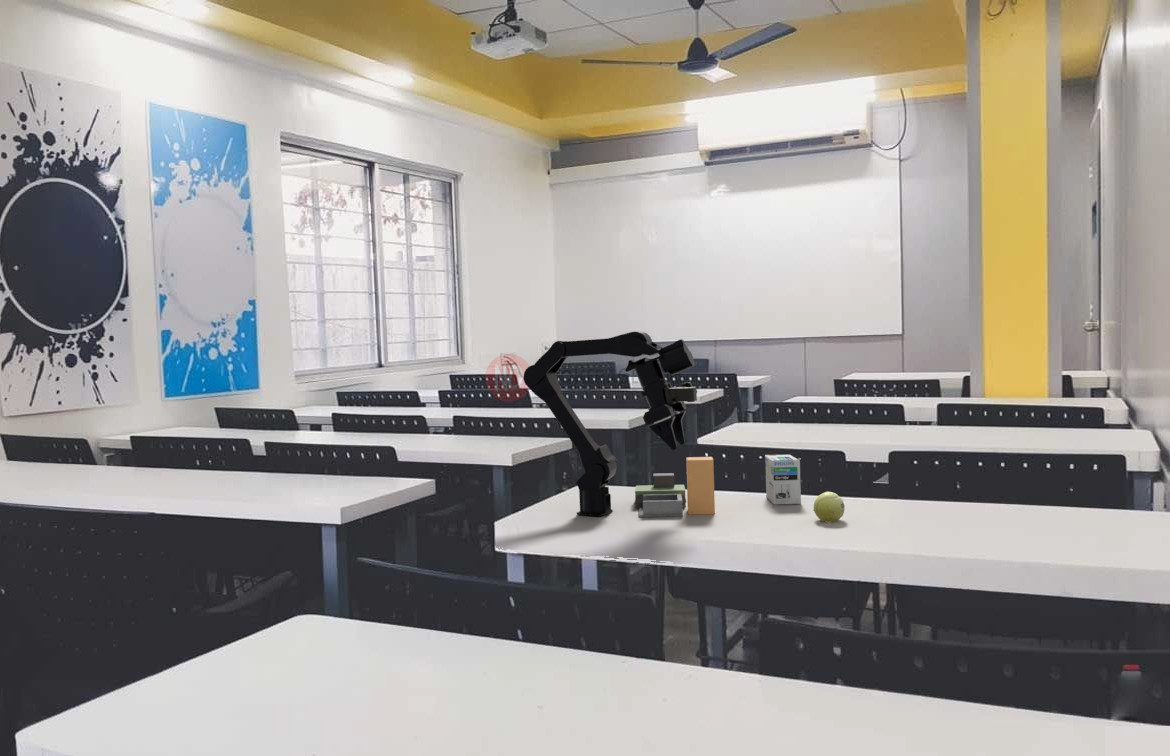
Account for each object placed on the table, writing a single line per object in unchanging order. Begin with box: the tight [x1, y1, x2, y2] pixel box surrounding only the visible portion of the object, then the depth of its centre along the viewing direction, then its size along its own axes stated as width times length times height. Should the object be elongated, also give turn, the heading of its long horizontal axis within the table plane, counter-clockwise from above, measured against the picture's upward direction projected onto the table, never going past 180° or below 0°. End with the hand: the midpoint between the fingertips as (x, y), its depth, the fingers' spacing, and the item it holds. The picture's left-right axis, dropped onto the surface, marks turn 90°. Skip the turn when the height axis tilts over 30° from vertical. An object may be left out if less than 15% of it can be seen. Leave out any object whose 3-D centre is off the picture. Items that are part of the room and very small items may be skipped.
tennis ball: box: [813, 491, 845, 523], centre depth 196 cm, size 6×7×7 cm
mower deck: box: [634, 472, 687, 509], centre depth 221 cm, size 12×10×7 cm
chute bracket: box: [638, 494, 684, 518], centre depth 211 cm, size 10×10×4 cm
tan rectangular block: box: [685, 456, 716, 515], centre depth 210 cm, size 6×5×12 cm
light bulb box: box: [764, 454, 802, 505], centre depth 220 cm, size 11×7×11 cm, turn 179°
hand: (679, 446), depth 205 cm, fingers open, 9 cm apart
